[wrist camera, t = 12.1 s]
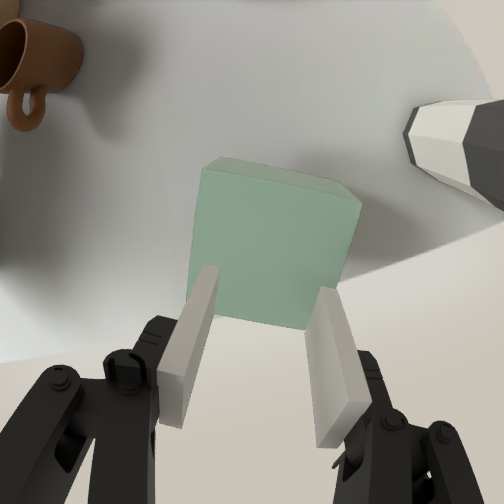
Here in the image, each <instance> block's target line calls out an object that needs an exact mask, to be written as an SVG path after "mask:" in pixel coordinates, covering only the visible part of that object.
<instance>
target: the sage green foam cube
mask: <svg viewBox="0 0 504 504" xmlns="http://www.w3.org/2000/svg"><path fill="white" fill-rule="evenodd" d="M362 205H363V202H362V201H360V200H359V199H358V198H357V197H356V196H355V195H354V194H353V193H351V192H350V191H349V190H348V189H347V188H346V187H345V186H344V185H342V184H341V183H340V182H338V181H334V180H330V179H326V178H322V177H318V176H313V175H309V174H305V173H300V172H296V171H291V170H287V169H282V168H277V167H273V166H268V165H263V164H257V163H252V162H247V161H241V160H236V159H230V158H224V157H220V158H218V159H217V160H215V161H214V162H212V163H210V164H209V165H207V166H206V167H204V168H202V172H201V179H200V186H199V193H198V200H197V207H196V215H195V222H194V230H193V239H192V247H191V256H190V265H189V275H188V285H187V295H186V302H187V299H188V297H189V295H190V293H191V291H192V288H193V286H194V284H195V282H196V280H197V278H198V275H199V273H200V271H201V269H202V267H203V265H204V264H209V265H214V266H219V267H221V269H220V276H219V282H218V288H217V295H216V301H215V308H214V314H217V315H222V316H227V317H232V318H237V319H243V320H248V321H253V322H259V323H264V324H271V325H276V326H282V327H287V328H294V329H300V330H306V328H307V325H308V323H309V320H310V317H311V314H312V311H313V308H314V305H315V302H316V300H317V297H318V294H319V291H320V288H321V286H323V287H328V288H334V289H336V286H337V284H338V281H339V278H340V275H341V272H342V269H343V266H344V263H345V260H346V257H347V254H348V251H349V248H350V245H351V241H352V238H353V235H354V232H355V229H356V225H357V222H358V219H359V215H360V212H361V208H362Z"/></svg>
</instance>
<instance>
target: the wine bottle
mask: <svg viewBox="0 0 504 504" xmlns="http://www.w3.org/2000/svg"><path fill="white" fill-rule="evenodd" d="M403 136H404V140H405V143H406V146H407V150H408V153H409V157H410V161H411V163H412V164H414V165H415V166H417V167H418V168H420V169H421V170H423V171H424V172H426V173H427V174H429V175H430V176H432V177H433V178H435V179H436V180H439V181H441V182H443V183H446V184H448V185H450V186H452V187H455V188H457V189H459V190H461V191H464V192H466V193H468V194H470V195H472V196H474V197H477V198H479V199H481V200H483V201H485V202H487V203H489V204H491V205H493V206H495V207H497V208H499V209H501V210H503V211H504V100H496V99H487V100H452V101H440V102H436V103H432V104H428V105H424V106H420V107H416V108H414V109H413V111H412V114H411V116H410V118H409V121H408V123H407V125H406V128H405V130H404V132H403Z"/></svg>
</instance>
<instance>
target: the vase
mask: <svg viewBox="0 0 504 504" xmlns="http://www.w3.org/2000/svg"><path fill="white" fill-rule="evenodd" d="M19 12H20V1H19V0H0V27H1V26H2V25H3V24H5V23H6V22H8V21H9V20H12V19H15V18H18V16H19Z"/></svg>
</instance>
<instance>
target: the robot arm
mask: <svg viewBox="0 0 504 504" xmlns="http://www.w3.org/2000/svg"><path fill="white" fill-rule="evenodd" d="M220 269H221V267H219V266H214V265H209V264H204V265H203V267H202V269H201V271H200V273H199V275H198V278H197V280H196V282H195V284H194V286H193V288H192V291H191V293H190V295H189V297H188V299H187V302H186V304H185V306H184V308H183V310H182V313H181V315H180V317H179V319H178V320H175V319H171V318H167V317H163V316H159V315H157V316H156V317H154V318H153V319H151V320H150V321H149V322H148V323H147V324H146V326H145V328H144V330H143V332H142V333H141V335H140V337H139V339H138V341H137V342H136V344H135V346H134V348H133V349H132V350H131V349H120V350H117V351H113V352H112V353H110V354H109V355H108V356H106V358H105V360H104V361H103V367H104V372H105V377H106V379H87V378H80V376H79V374H78V373H77V371H76V370H75V369H73V368H72V367H70V366H66V365H54V366H52V367H49V368H47V369H46V370H45V371H44V372H43V373H42V374H41V375H40V377H39V378H38V380H37V381H36V383H35V384H34V385H33V386H32V388H31V389H30V390H29V392H28V393H27V395H26V396H25V397H24V399H23V400H22V402H21V403H20V404H19V406H18V407H17V409H16V410H15V412H14V413H13V415H12V416H11V418H10V419H9V421H8V422H7V424H6V425H5V427H4V428H3V430H2V431H1V433H0V504H64V503H65V500H66V498H67V496H68V493H69V491H70V489H71V486H72V484H73V482H74V480H75V478H76V475H77V473H78V471H79V469H80V466H81V464H82V462H83V460H84V458H85V456H86V454H87V451H88V449H89V447H90V445H91V443H92V441H93V439H94V438H95V439H96V440H95V446H94V453H93V460H92V467H91V475H90V484H89V494H88V504H155V426H156V423H157V420H158V417H159V423H160V424H164V425H168V426H172V427H176V428H180V429H182V426H183V422H184V418H185V415H186V411H187V407H188V404H189V400H190V397H191V393H192V389H193V386H194V382H195V378H196V375H197V371H198V368H199V364H200V361H201V357H202V354H203V350H204V347H205V343H206V340H207V336H208V333H209V329H210V326H211V322H212V319H213V315H214V308H215V301H216V295H217V288H218V282H219V276H220ZM305 340H306V348H307V356H308V365H309V373H310V382H311V392H312V402H313V412H314V422H315V433H316V444H317V448H338V447H339V446H340V445H341V443H342V442H343V441H344V443H345V449H346V450H345V451H344V452H343V453H342V454H341V456H340V457H339V458H338V459H337V460H336V461H335V462H334V464H333V466H332V468H333V469H335V468H336V467H337V466H338V465H339V470H338V476H337V483H336V488H335V495H334V500H333V504H484V501H483V498H482V495H481V492H480V489H479V486H478V484H477V481H476V478H475V475H474V473H473V470H472V467H471V464H470V462H469V459H468V457H467V455H466V452H465V449H464V447H463V444H462V442H461V440H460V437H459V435H458V433H457V431H456V429H455V428H454V427H453V426H452V425H451V424H449V423H447V422H445V421H436V422H433V423H432V425H431V426H430V427H429V428H428V429H427V428H423V427H419V426H415V425H411V424H409V423H408V420H407V418H406V417H405V416H404V414H403V413H401V412H400V411H398V410H397V409H394V408H393V407H392V404H391V401H390V398H389V395H388V392H387V389H386V386H385V383H384V380H383V377H382V374H381V372H380V369H379V366H378V363H377V360H376V359H375V358H374V357H373V356H372V354H371V353H370V352H369V351H361V350H357V349H356V346H355V343H354V339H353V336H352V333H351V330H350V327H349V324H348V321H347V318H346V315H345V312H344V309H343V306H342V303H341V300H340V297H339V294H338V292H337V289H334V288H328V287H323V286H321V288H320V291H319V294H318V297H317V300H316V302H315V305H314V308H313V311H312V314H311V317H310V320H309V323H308V325H307V328H306V331H305ZM429 471H430V473H431V476H432V477H431V478H429V477H428V475H427V473H428V472H429Z"/></svg>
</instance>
